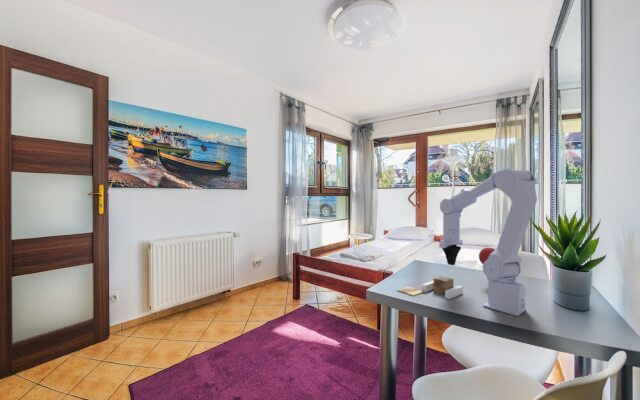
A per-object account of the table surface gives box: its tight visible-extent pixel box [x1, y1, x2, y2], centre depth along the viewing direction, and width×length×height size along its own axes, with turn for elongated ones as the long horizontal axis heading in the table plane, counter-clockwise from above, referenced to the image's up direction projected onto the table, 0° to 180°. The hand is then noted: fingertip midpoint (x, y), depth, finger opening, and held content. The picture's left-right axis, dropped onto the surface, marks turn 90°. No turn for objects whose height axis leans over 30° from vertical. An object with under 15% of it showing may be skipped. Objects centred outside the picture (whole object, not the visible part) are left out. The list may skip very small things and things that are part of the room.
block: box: [433, 275, 454, 295], centre depth 100 cm, size 5×5×5 cm
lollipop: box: [478, 247, 497, 265], centre depth 110 cm, size 8×8×15 cm
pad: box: [396, 286, 425, 297], centre depth 100 cm, size 7×7×1 cm
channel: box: [421, 280, 464, 300], centre depth 100 cm, size 10×10×2 cm
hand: (451, 264), depth 104 cm, fingers closed
